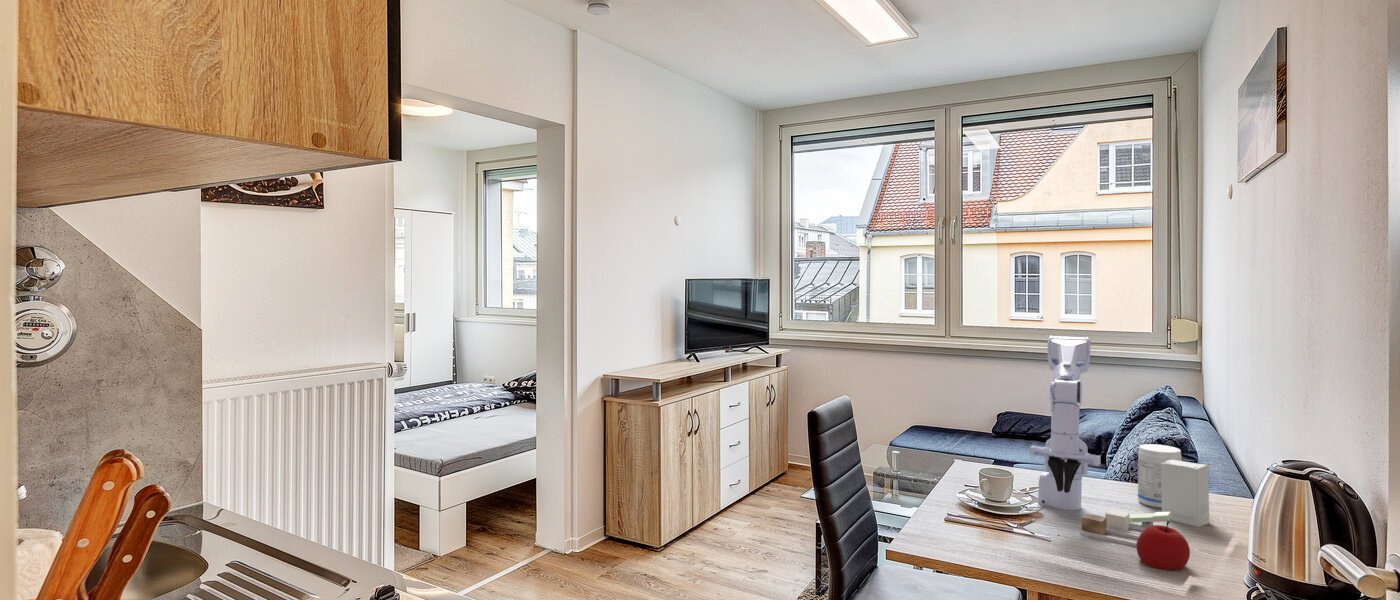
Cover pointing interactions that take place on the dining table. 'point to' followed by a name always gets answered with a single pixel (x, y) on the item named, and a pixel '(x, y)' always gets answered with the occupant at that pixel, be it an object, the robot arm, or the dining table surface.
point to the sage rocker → (1151, 517)
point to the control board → (1120, 533)
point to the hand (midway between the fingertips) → (1063, 491)
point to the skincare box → (1185, 492)
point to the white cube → (1117, 519)
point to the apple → (1163, 548)
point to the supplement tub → (1153, 471)
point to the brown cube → (1094, 524)
